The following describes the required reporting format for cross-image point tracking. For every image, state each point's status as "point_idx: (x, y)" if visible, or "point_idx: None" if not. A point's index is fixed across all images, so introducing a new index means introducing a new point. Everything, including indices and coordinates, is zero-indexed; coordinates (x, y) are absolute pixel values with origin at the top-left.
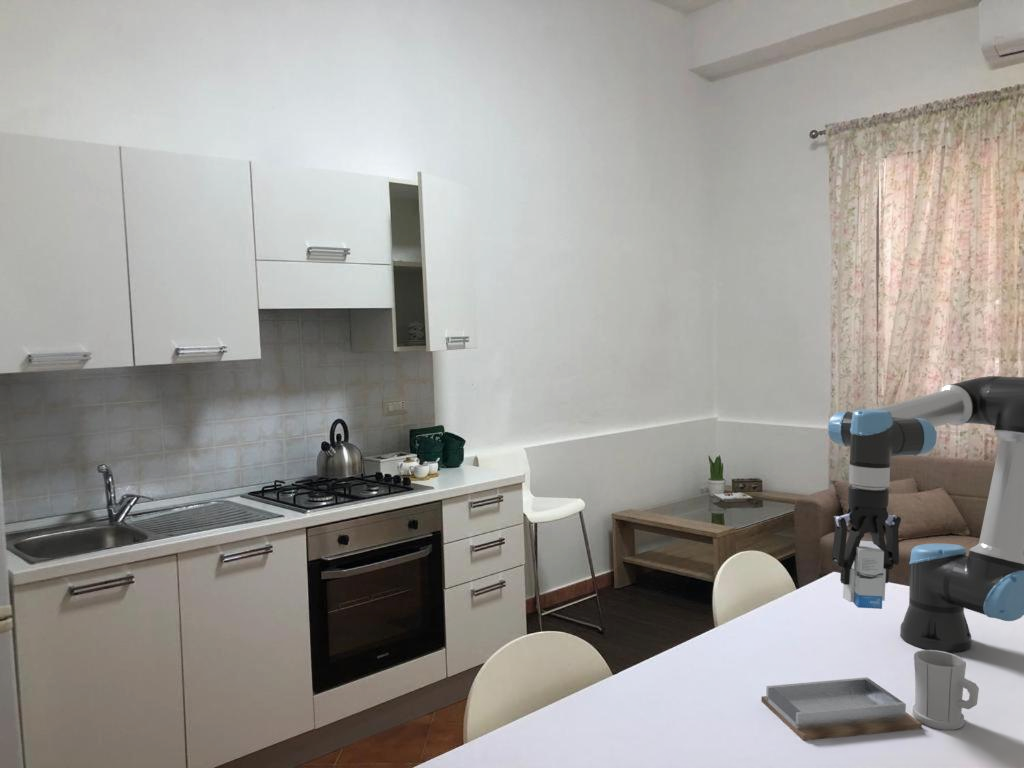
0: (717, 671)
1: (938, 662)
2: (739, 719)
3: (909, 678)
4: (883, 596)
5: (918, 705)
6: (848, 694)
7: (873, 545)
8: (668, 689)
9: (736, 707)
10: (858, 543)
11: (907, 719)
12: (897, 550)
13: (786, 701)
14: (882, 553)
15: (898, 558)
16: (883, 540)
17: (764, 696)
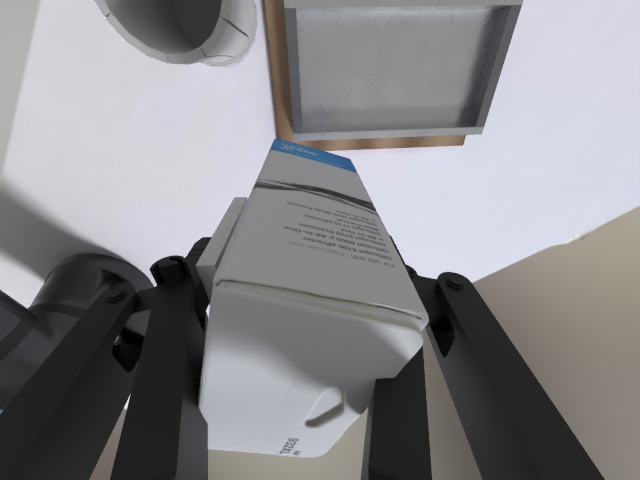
0: (447, 237)
1: (156, 41)
2: (534, 88)
3: (195, 184)
4: (236, 203)
5: (248, 13)
6: (341, 113)
7: (226, 403)
8: (543, 197)
9: (506, 130)
10: (383, 408)
11: (281, 3)
12: (56, 358)
13: (499, 61)
14: (235, 266)
15: (88, 312)
16: (131, 447)
17: (458, 144)
